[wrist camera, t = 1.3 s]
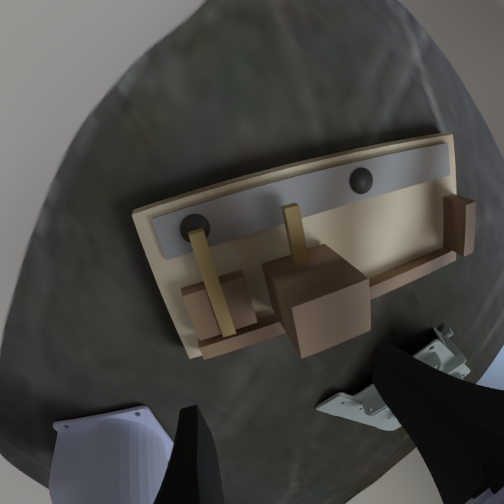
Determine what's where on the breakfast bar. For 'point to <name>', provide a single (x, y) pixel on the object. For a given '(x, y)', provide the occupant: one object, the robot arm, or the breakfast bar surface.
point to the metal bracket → (370, 402)
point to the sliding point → (316, 292)
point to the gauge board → (315, 229)
